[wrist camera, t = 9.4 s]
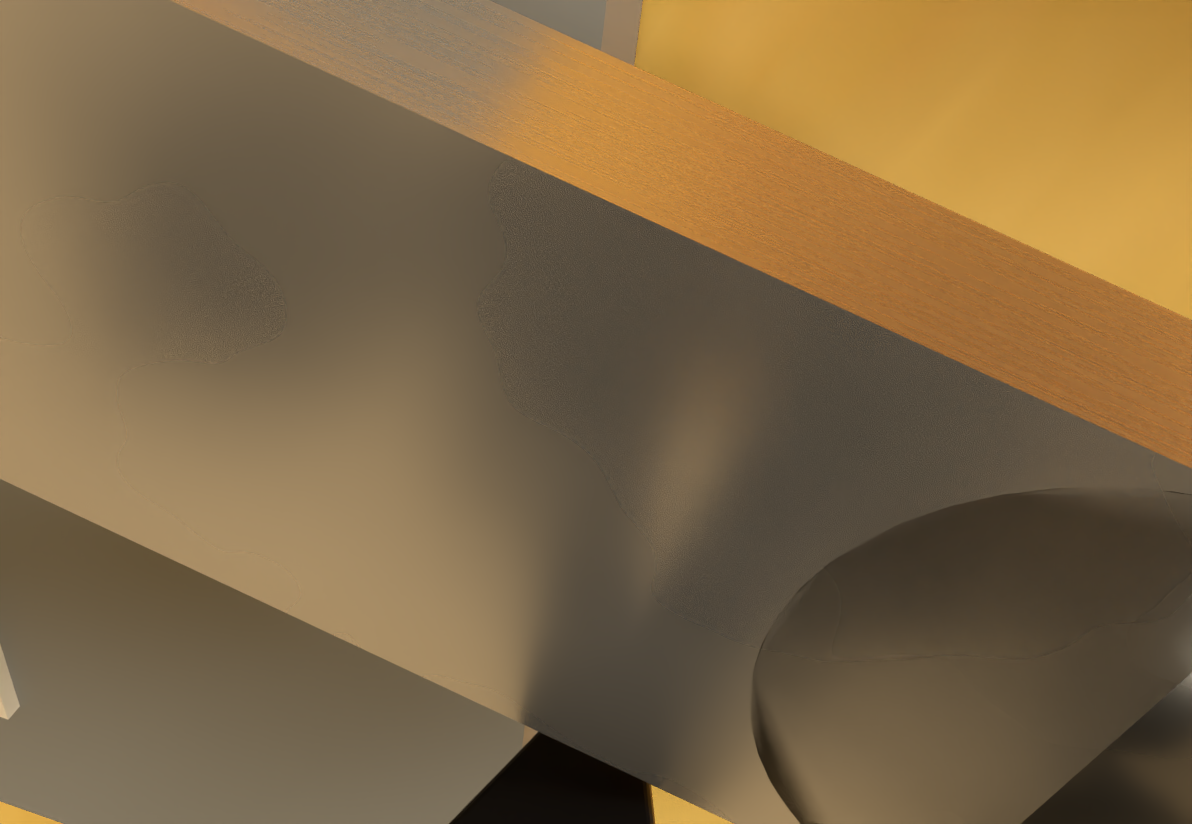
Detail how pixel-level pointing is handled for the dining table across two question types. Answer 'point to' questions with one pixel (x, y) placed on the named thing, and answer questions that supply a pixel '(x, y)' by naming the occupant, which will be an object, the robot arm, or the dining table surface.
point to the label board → (224, 669)
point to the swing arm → (601, 407)
